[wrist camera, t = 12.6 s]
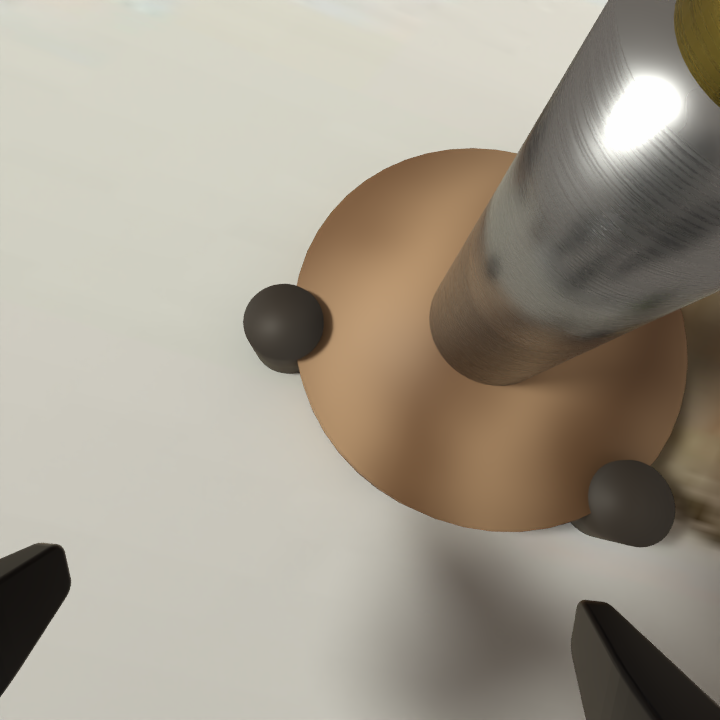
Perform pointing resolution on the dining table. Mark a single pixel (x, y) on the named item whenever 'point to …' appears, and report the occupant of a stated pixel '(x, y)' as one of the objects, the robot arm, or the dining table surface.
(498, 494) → the base plate
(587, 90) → the gold-capped silver cylinder
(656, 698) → the robot arm
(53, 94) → the dining table surface
